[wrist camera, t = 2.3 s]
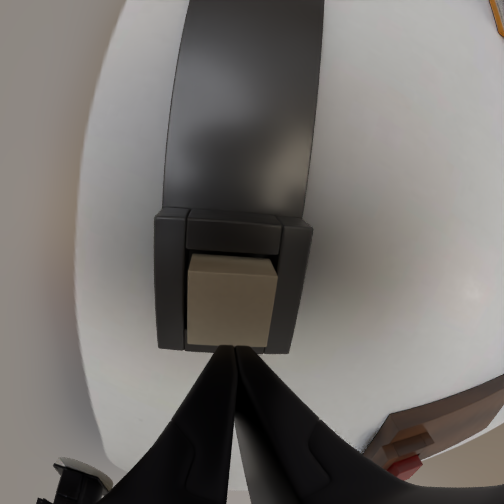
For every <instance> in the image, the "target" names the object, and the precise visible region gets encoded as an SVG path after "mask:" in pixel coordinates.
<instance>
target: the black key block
mask: <svg viewBox="0 0 504 504" xmlns="http://www.w3.org/2000/svg"><path fill="white" fill-rule="evenodd" d="M323 17H324V0H190V2H189V6H188V10H187V14H186V19H185V24H184V28H183V33H182V38H181V43H180V49H179V54H178V60H177V66H176V72H175V78H174V85H173V92H172V99H171V107H170V115H169V124H168V133H167V143H166V154H165V167H164V182H163V200H162V209H161V210H160V211H159V212H158V213H157V214H156V215H155V217H154V288H155V311H156V327H157V341H158V348H160V349H171V350H185V351H191V352H207V353H214V352H215V351H216V349H217V348H218V346H214V345H197V344H188V343H187V292H188V269H189V265H190V261H191V258H192V254H208V255H223V256H238V257H253V258H268V259H270V261H271V263H272V265H273V267H274V269H275V271H276V274H277V276H278V280H277V286H276V293H275V299H274V305H273V311H272V317H271V323H270V329H269V335H268V341H267V346H266V347H251V348H252V349H253V350H254V351H255V352H256V353H257V354H263V352H264V354H288V353H289V351H290V346H291V342H292V337H293V333H294V328H295V324H296V319H297V314H298V309H299V304H300V299H301V294H302V289H303V284H304V279H305V274H306V268H307V263H308V257H309V252H310V246H311V240H312V234H313V228H312V227H311V226H310V225H309V224H307V223H306V222H305V221H304V220H303V219H302V217H303V210H304V203H305V196H306V189H307V181H308V174H309V166H310V158H311V150H312V142H313V133H314V124H315V115H316V106H317V95H318V85H319V73H320V61H321V48H322V34H323ZM234 347H235V346H234Z"/></svg>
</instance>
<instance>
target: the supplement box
mask: <svg viewBox="0 0 504 504" xmlns="http://www.w3.org/2000/svg"><path fill="white" fill-rule="evenodd" d="M489 1H490V4H491V7H492V11H493V14H494V18H495V21H496V25H497V28H498V32H499V33H500V34H501V35H502V36H503V37H504V0H489Z"/></svg>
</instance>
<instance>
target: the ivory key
mask: <svg viewBox="0 0 504 504" xmlns="http://www.w3.org/2000/svg"><path fill="white" fill-rule="evenodd" d="M277 280H278V276H277V274H276V271H275V269H274V267H273V265H272V263H271V261H270V259H268V258H253V257H238V256H223V255H208V254H192V258H191V261H190V265H189V269H188V292H187V343H188V344H197V345H214V346H219V345H233V346H236V345H247V346H250V347H266V346H267V341H268V335H269V329H270V323H271V317H272V311H273V305H274V299H275V293H276V286H277Z"/></svg>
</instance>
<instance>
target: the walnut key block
mask: <svg viewBox="0 0 504 504" xmlns="http://www.w3.org/2000/svg"><path fill="white" fill-rule="evenodd" d="M503 405H504V375H502V376H500V377H497V378H495V379H493V380H491V381H489V382H486V383H484V384H482V385H479V386H477V387H474V388H472V389H469V390H467V391H464V392H462V393H459V394H456V395H453V396H451V397H448V398H445V399H442V400H439V401H436V402H433V403H429V404H426V405H423V406H420V407H416V408H412V409H409V410H405V411H401V412H397V413H393V414H390V415H389V416H388V418H387V419H386V421H385V423H384V424H383V426H382V427H381V429H380V430H379V432H378V433H377V435H376V436H375V438H374V439H373V441H372V442H371V444H370V445H369V446H368V448H367V449H366V451H365V452H364V453H363V455H364V456H365V457H367V458H368V459H370V460H371V461H373V462H374V463H376V464H377V465H379V466H380V467H382V468H383V469H385V470H387V469H388V468H389V467H390V466H391V465H392V464H393V463H394V462H397V461H400V460H403V459H406V458H409V457H412V456H414V455H418V457H419V459H420V460H422V459H425V458H427V457H430V456H432V455H434V454H436V453H439V452H441V451H443V450H445V449H447V448H449V447H451V446H453V445H456V444H458V443H459V442H461V441H463V440H465V439H467V438H469V437H471V436H473V435H475V434H476V433H478V432H480V431H482V430H483V429H485V428H487V426H488V425H489V424H490V422H491V421H492V420H493V419H494V417H495V416H496V415H497V413H498V412H499V410H500V409H501V408H502V406H503Z"/></svg>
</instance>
